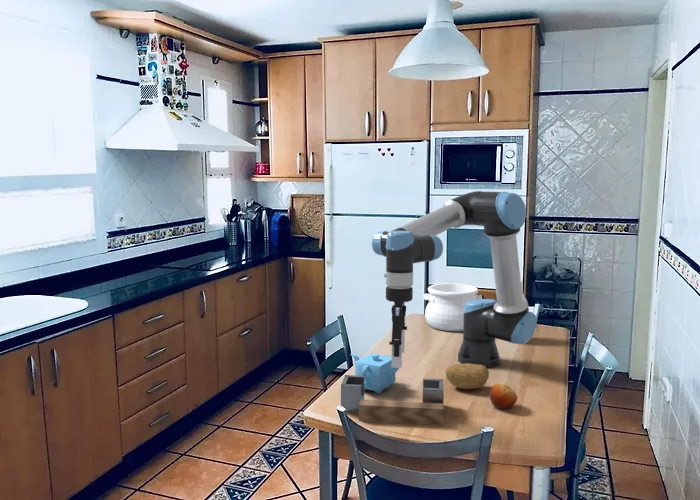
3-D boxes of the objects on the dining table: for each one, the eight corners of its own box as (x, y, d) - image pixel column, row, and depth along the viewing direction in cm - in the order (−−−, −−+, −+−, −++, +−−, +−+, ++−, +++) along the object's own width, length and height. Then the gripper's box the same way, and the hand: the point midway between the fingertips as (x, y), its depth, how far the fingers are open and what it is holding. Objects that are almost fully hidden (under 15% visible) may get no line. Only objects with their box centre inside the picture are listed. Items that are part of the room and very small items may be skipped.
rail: (443, 420, 171) (443, 403, 170) (443, 426, 167) (443, 409, 167) (360, 415, 174) (360, 399, 174) (358, 421, 170) (358, 404, 170)
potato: (444, 381, 201) (445, 358, 199) (487, 384, 198) (488, 361, 197) (444, 392, 191) (445, 368, 190) (489, 395, 189) (490, 371, 188)
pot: (422, 331, 261) (422, 292, 258) (424, 317, 285) (424, 281, 282) (482, 334, 256) (484, 294, 254) (480, 320, 280) (481, 283, 278)
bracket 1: (340, 411, 177) (340, 385, 175) (345, 399, 185) (345, 374, 184) (361, 412, 176) (361, 386, 175) (364, 400, 185) (364, 375, 184)
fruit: (480, 397, 183) (493, 376, 182) (501, 409, 184) (514, 388, 183) (488, 408, 175) (502, 385, 174) (510, 420, 176) (524, 398, 175)
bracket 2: (442, 404, 181) (443, 379, 180) (443, 416, 173) (443, 390, 172) (422, 403, 182) (423, 378, 181) (422, 415, 173) (422, 389, 172)
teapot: (386, 401, 184) (387, 366, 183) (338, 389, 194) (337, 356, 192) (409, 385, 198) (410, 352, 196) (363, 375, 207) (363, 343, 205)
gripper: (389, 277, 180) (388, 345, 182) (381, 295, 155) (380, 373, 158) (414, 278, 179) (413, 347, 181) (410, 296, 154) (409, 374, 157)
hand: (398, 359), depth 170 cm, fingers open, 13 cm apart
